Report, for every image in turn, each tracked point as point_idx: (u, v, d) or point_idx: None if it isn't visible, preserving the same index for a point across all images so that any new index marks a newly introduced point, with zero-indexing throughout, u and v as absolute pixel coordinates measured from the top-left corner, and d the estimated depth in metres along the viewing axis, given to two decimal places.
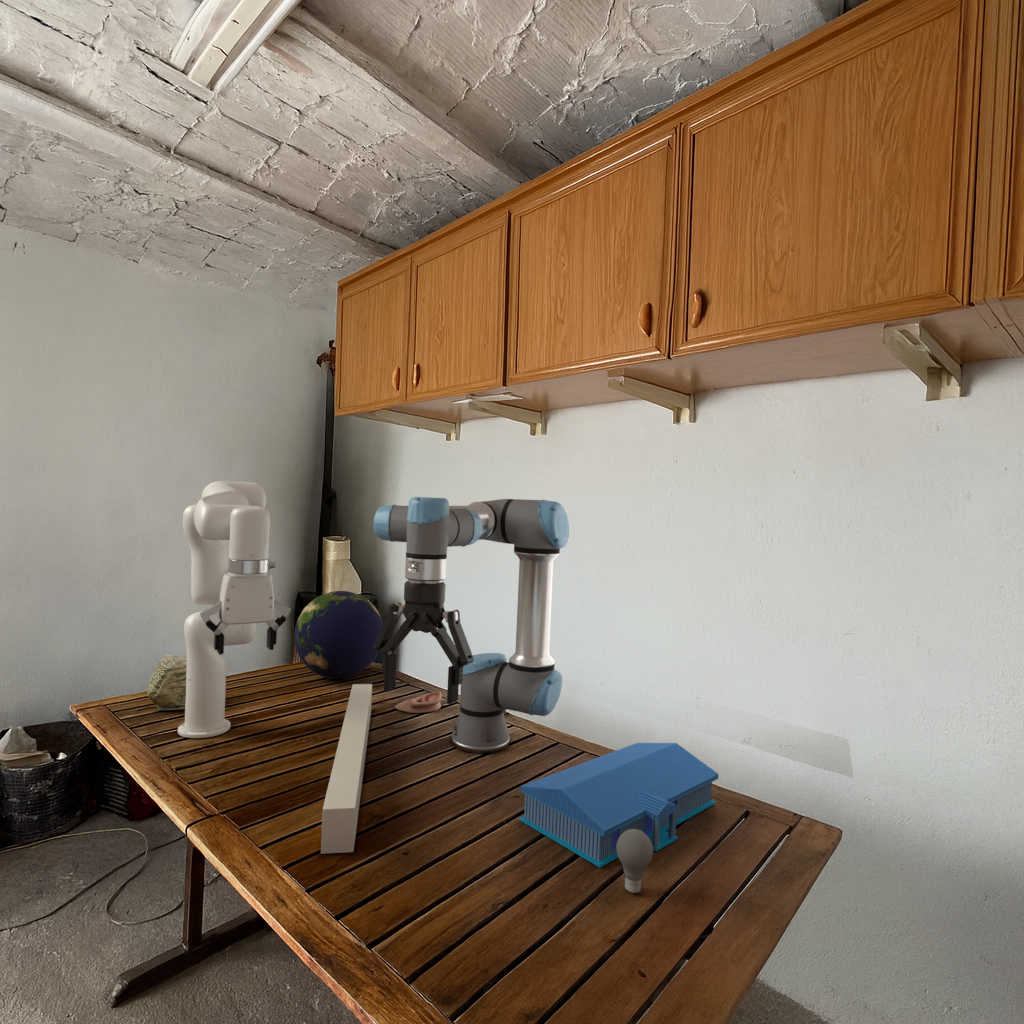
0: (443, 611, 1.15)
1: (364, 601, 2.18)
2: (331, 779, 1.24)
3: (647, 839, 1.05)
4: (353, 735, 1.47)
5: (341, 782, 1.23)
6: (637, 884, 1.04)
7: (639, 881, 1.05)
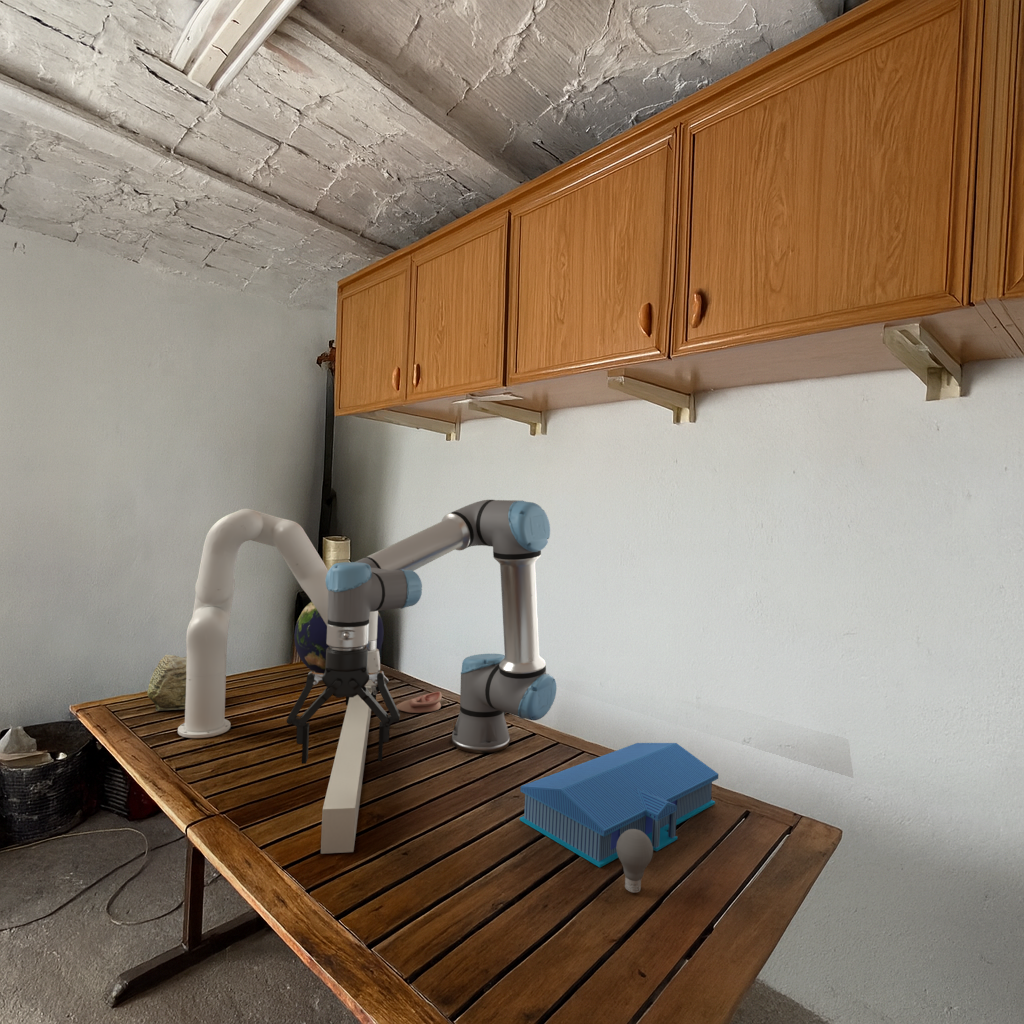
0: (368, 673, 1.18)
1: None
2: (331, 779, 1.24)
3: (647, 839, 1.05)
4: (353, 735, 1.47)
5: (341, 782, 1.23)
6: (637, 884, 1.04)
7: (639, 881, 1.05)
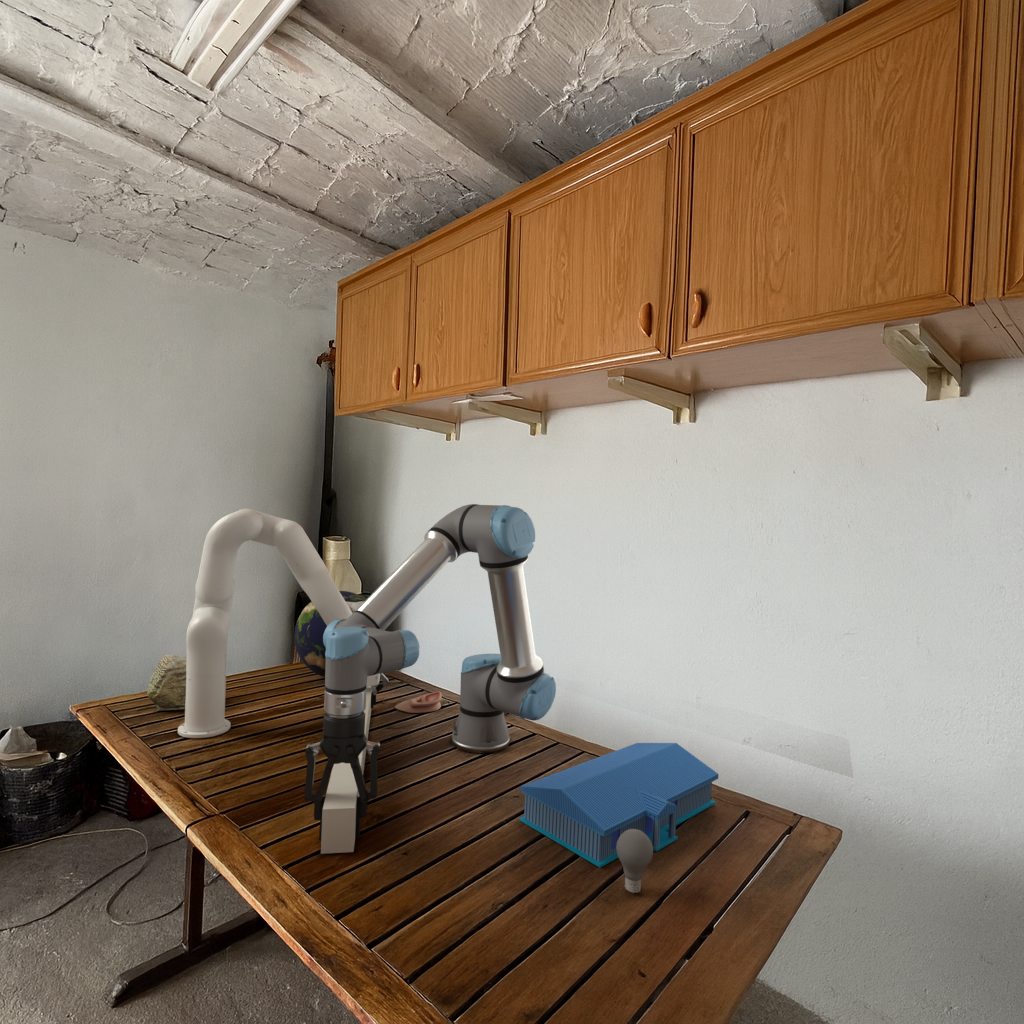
0: (366, 739, 1.19)
1: None
2: (331, 779, 1.24)
3: (647, 839, 1.05)
4: None
5: (341, 782, 1.23)
6: (637, 884, 1.04)
7: (639, 881, 1.05)
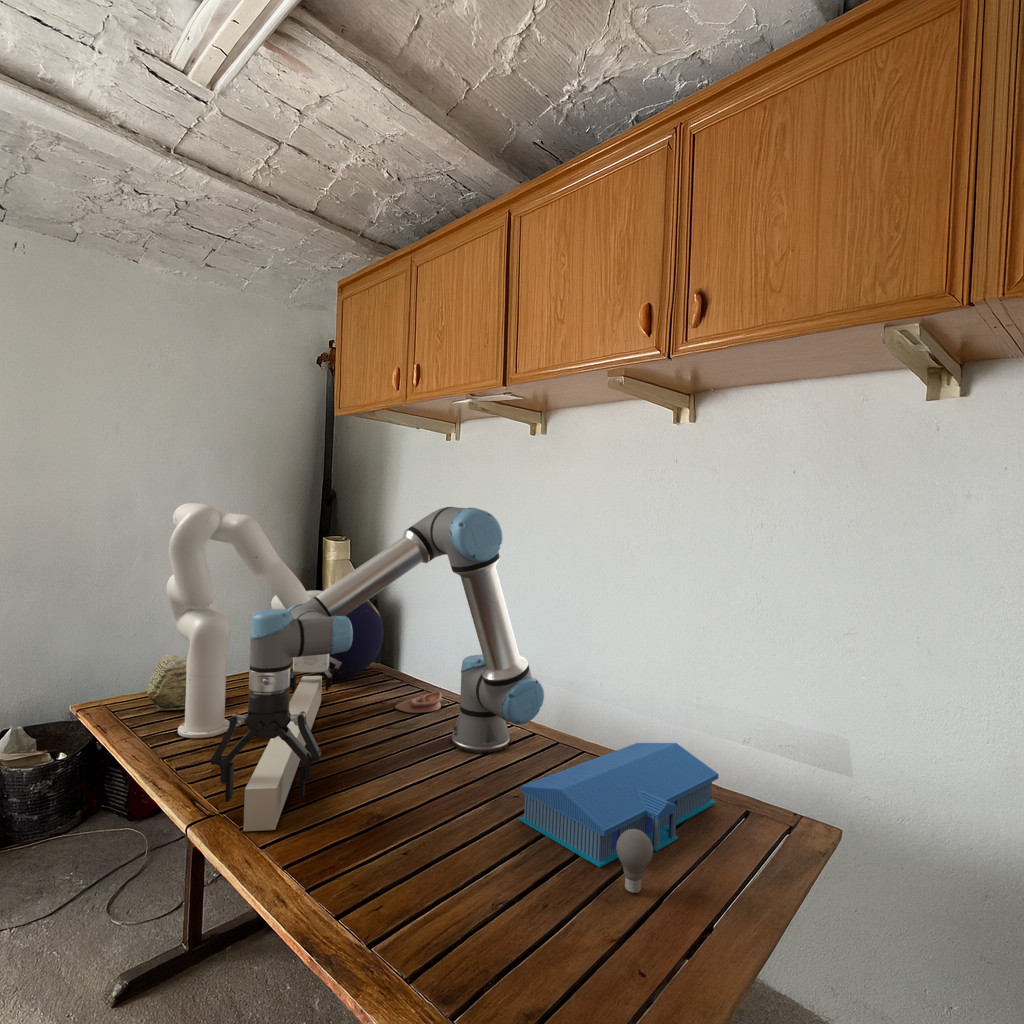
0: (290, 715, 1.25)
1: None
2: (260, 762, 1.30)
3: (647, 839, 1.05)
4: (291, 723, 1.53)
5: (268, 765, 1.29)
6: (637, 884, 1.04)
7: (639, 881, 1.05)
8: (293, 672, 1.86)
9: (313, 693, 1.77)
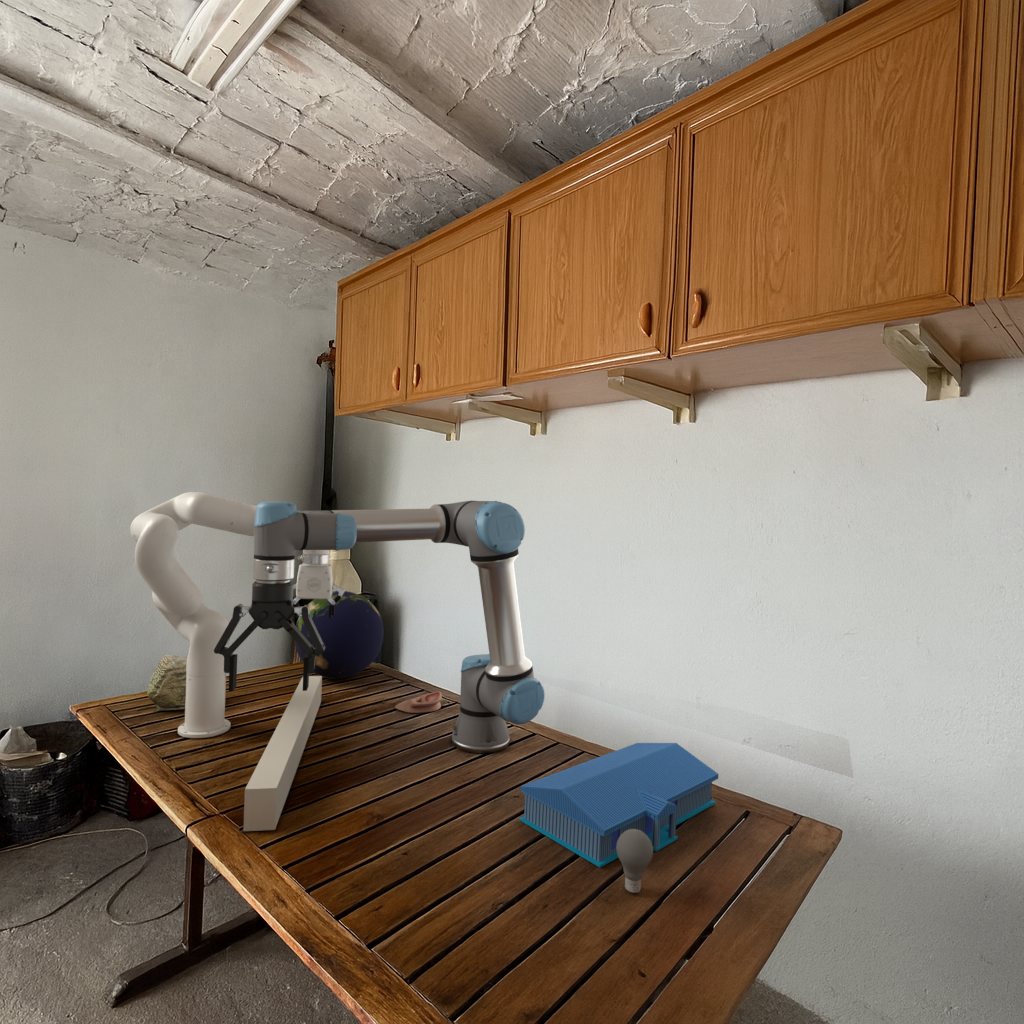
0: (294, 607, 1.24)
1: (364, 601, 2.18)
2: (260, 762, 1.30)
3: (647, 839, 1.05)
4: (291, 723, 1.53)
5: (268, 765, 1.29)
6: (637, 884, 1.04)
7: (639, 881, 1.05)
8: (296, 599, 1.86)
9: (313, 693, 1.77)
